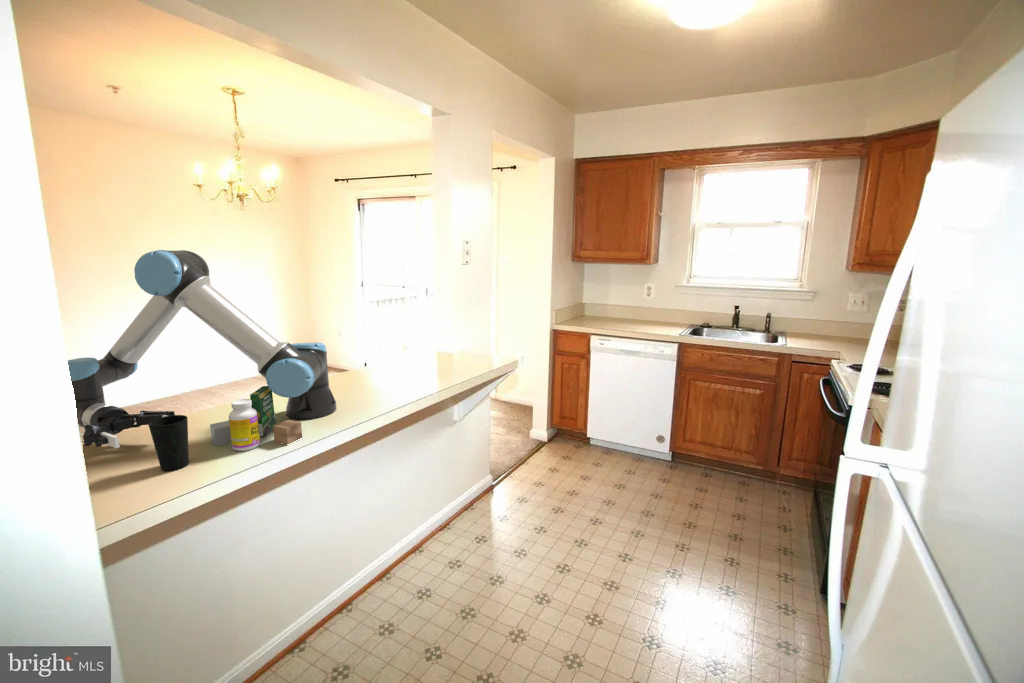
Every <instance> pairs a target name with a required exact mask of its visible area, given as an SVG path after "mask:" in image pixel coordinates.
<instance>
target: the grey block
mask: <svg viewBox="0 0 1024 683" xmlns="http://www.w3.org/2000/svg"><path fill="white" fill-rule="evenodd" d="M209 429H210V438H211V442H212V444H213V445H214V444H215V445H214V446H215V447H219V446H220V445H221V446H224V445H229V444H232V441H231V432H230V424H229V420H224V421H220V422H216V423H215V422H214V423H210V424H209Z"/></svg>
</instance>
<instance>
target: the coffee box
mask: <svg viewBox="0 0 1024 683" xmlns="http://www.w3.org/2000/svg"><path fill="white" fill-rule="evenodd" d="M249 399H250V400H251V401H252V406H251V408H253V409H255V410H256V411H257V418H258V427H259V436H260V438H265V437H266V436H267V435H268V434H269V433H271V432H272V431H273V426H274V425H276V424H277V423H276V416H275V415H276V413H275V407H274V398H273V392H272V391H271V390H270V388H269V387H268V385H262V386H261V387H259V388H258V389H256V390H255V391H254V392H252V393H250V394H249Z"/></svg>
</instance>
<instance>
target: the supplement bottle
mask: <svg viewBox="0 0 1024 683" xmlns="http://www.w3.org/2000/svg"><path fill="white" fill-rule="evenodd" d="M251 406H252V401H251V400H250V398H241V399H236V400H234V401H232V402H231V409H232V411H231V412H230V413H229V414H228V421H229V424H230V432H231V441H232V443H231V446H232V447H231V448H232V449H233V450H234V451H236V452H245V451H250V450H254V449H256V448H257V447H259V446H260V444H261V437H260V436H259V427H258V418H257V411H256V410H255V409H253V408H251Z"/></svg>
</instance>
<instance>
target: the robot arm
mask: <svg viewBox="0 0 1024 683" xmlns="http://www.w3.org/2000/svg"><path fill="white" fill-rule="evenodd" d="M133 270H134V271H133V272H134V278H135V282H136V284H137V285H138V286H139V288H140V289H141V290H143V291H144V292H145V293H146V294H149V295H152V296H151V298H150V300H148V302H147V303H146V304H145V306H144V307H143V308H142V309H141V311H140V312H139V313H138V315H136V317H135V318H134V319H133V321H132V322H131V323H130V324H129V325H128V326H127V328H126V329H125V331H123V333H122V334H121V335H120V337H119V338H118V339H117V341H116V342H115V343H114V344H113V346H111V348H110V350H109V351H108V352H107V353H106V354H105V355H104V356H103V357H102V358H101V359H97V358H96V357H79V358H74V359H68V360H67V361H68V365H69V371H70V376H71V381H72V385H73V388H74V394H75V400H76V408H77V418H78V424H79V426H78V427H81V428H84V429H83V430H84V432H83V435H82V439H83V444H84V447H90V446H92V444H94V445H95V447H96V448H99V447H102V446H103V445H107V446H110V447H111V448H114V449H119V448H120V447H121V446H120V440H119V435H118V434H119V433H121V432H123V431H124V430H128V429H133V428H140V427H141V426H149V425H148V424H149V423H150V422H151V421H153V420H155V419H158V418H161V417H166V416H172V415H176V414H175V411H173V410H172V411H170V410H165V411H163V410H158V411H157V410H156V411H153V410H150V411H149V410H140V411H139V413H133V414H132V413H131V414H130V413H129V412H127V410H125V409H124V408H121V407H118V406H115V405H112V404H108V403H106V401H105V395H104V394H105V393H104V388H103V387H105V386H107V385H110V384H112V383H115V382H117V381H120V380H123V379H127V378H128V377H130V376H132V375H133V374H134V373H135V372H136V371H137V369H138V362H139V361H140V360H141V358H142V357H143V355H145V354H146V352H147V351H148V350H149V348H150V347H151V346H152V344H154V343H155V341H156V339H157V338H159V336H160V335H161V333H162V332H163V331H164V330H165V329H166V328H167V327H168V325H169V324H170V323H171V322H172V321H173V319H174V317H175V316H176V315H177V314H178V313H179V312H180V310H182V308H185V309H187V310H188V311H190V312H191V313H192V314H193V315H195V316H196V317H197V318H198V319H200V320H201V321H203V322H204V323H205V324H206V325H208V326H209V327H210V328H211V329H213V330H214V331H215V332H216V333H217V334H219V335H220V337H222V338H224V339H225V340H226V341H228V342H229V343H230V344H231V345H232V346H234V347H235V348H236V349H238V350H239V351H240V352H241V353H243V354H244V356H247V357H248V358H249V359H250V360H252V361H253V362H254V363H255V364H256V365H257V372H258V374H260V375H261V376H262V377H264V378H265V381H266V386H268V387H269V388H270V390H271V391H272V394H275V395H276V396H279V397H282V398H287V400H288V401H287V404H286V416H287V417H288V418H289V419H290V418H291V419H293V420H309V418H311V419H316V417H318V418H322V417H325V415H326V416H328V415H331V414H333V413H334V412H336V410H337V402H336V399H335V397H334V395H333V392H332V390H331V388H330V382H329V369H328V368H329V367H328V358H327V357H328V351H327V347H326V345H325V343H323V342H298V343H297V342H295V343H290V342H288V341H285V342H283V341H279V340H278V339H277V338H275V336H273V335H272V334H271V333H269V332H268V331H267V330H266V329H264V328H263V327H262V326H261V325H259V324H258V323H257V322H256V321H254V319H252V318H251V317H250V316H249V315H248V314H246V313H245V312H244V311H242V310H241V309H240V308H239V307H237V306H236V305H235V304H234V303H233V302H231V301H230V300H229V299H228V298H226V297H225V296H224V295H222V294H221V292H219V291H218V290H217V289H215V288H214V287H213V285H211V278H210V269H209V264H207V262H206V260H205V259H204V258H203V257H202V256H200V255H199V254H197V253H195V252H193V251H190V250H185V249H183V250H182V249H181V250H168V249H167V250H165V249H157V250H153V251H148V252H146V253H144V254H142V255H141V256H140V257H139V258H138V259H137V261H136V263H135V266H134V268H133ZM330 413H331V414H330ZM321 416H322V417H321ZM135 423H136V424H135ZM117 433H118V434H117ZM117 435H118V436H117Z"/></svg>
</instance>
